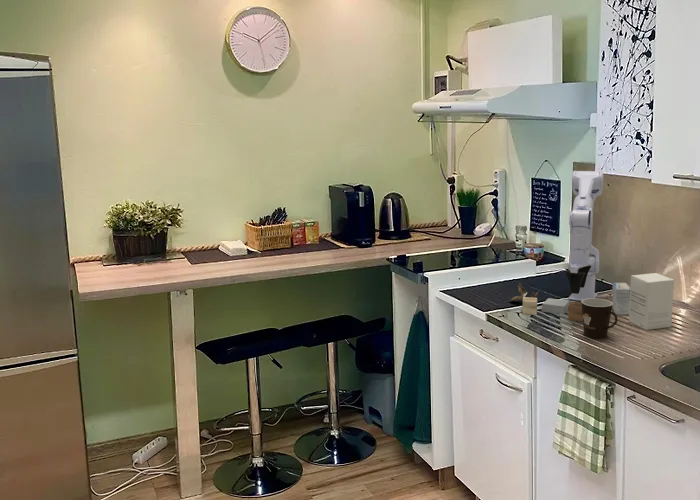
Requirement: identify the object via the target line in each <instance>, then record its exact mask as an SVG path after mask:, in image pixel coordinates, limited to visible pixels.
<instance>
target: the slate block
mask: <svg viewBox="0 0 700 500" xmlns="http://www.w3.org/2000/svg"><path fill="white" fill-rule="evenodd" d="M570 304H571V300H566V299H557V298H551V297H550V298H549V297H548V298H547V299H546V300H545V301H544V302H543V303H542V304H541V305H542V307H541V308H542V309H541V311H542V312H543V313H551V314H557V315H558V314H559V315H565V314H566V313H568V306H569V305H570Z"/></svg>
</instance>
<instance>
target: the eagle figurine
mask: <svg viewBox="0 0 700 500" xmlns="http://www.w3.org/2000/svg"><path fill="white" fill-rule="evenodd" d="M517 290H518V293H519V294H520V295H517V296H514V297H512V298H511V299H510V300H508V302H509V303H510V302H519V301H521V300H522V301H523V297H529V298H537V296H538V295H539V293H540V291H537V292H536V293H535V292H532V293H531V295H528V291H527V290H526V288H525V287H523V285H522V283H521V282H518V283H517Z"/></svg>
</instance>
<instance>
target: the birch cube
mask: <svg viewBox="0 0 700 500" xmlns="http://www.w3.org/2000/svg"><path fill="white" fill-rule="evenodd" d="M522 315H534V316H537V315H538V297H535V298H529V297H523V300H522Z"/></svg>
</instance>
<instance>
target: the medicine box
mask: <svg viewBox="0 0 700 500" xmlns="http://www.w3.org/2000/svg"><path fill="white" fill-rule="evenodd" d="M611 290H612V291H611V292H612V293H611V302H612V303H613V305H612V310H613V312H614V313H615V314H616V315H619V316H621V315H623V316H625V315H626V316H629V306H630V286H629V285H628V283H626V282H613V283H612V289H611Z"/></svg>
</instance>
